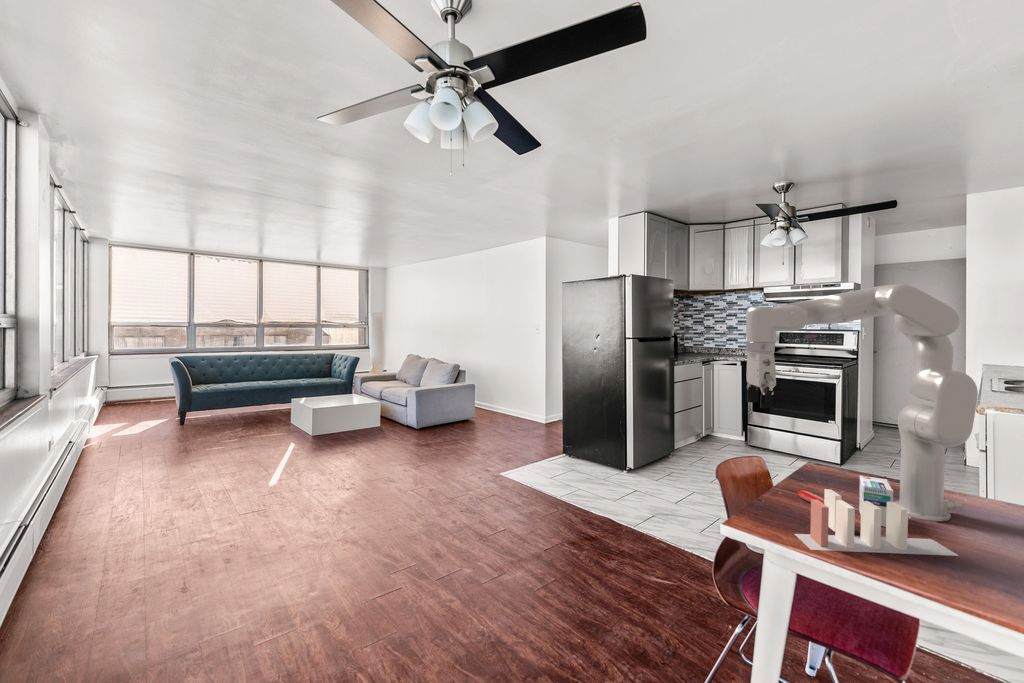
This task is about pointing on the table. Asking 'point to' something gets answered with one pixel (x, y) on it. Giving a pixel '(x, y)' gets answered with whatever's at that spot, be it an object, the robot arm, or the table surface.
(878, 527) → the domino
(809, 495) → the candy bar
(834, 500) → the domino
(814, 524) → the domino
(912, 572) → the table surface
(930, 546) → the felt strip
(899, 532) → the domino
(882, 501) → the light bulb box
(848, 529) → the domino
